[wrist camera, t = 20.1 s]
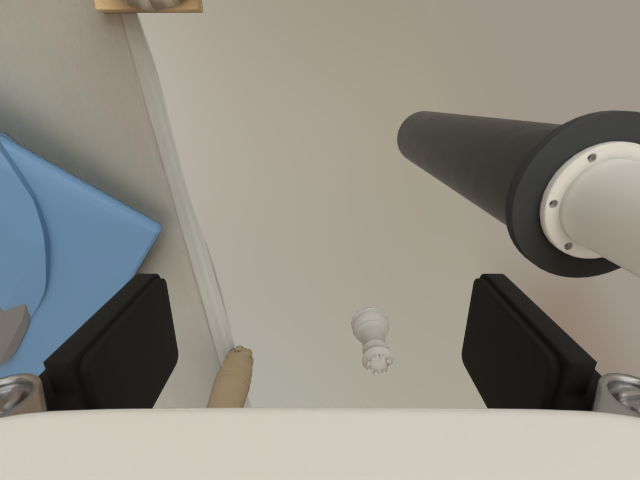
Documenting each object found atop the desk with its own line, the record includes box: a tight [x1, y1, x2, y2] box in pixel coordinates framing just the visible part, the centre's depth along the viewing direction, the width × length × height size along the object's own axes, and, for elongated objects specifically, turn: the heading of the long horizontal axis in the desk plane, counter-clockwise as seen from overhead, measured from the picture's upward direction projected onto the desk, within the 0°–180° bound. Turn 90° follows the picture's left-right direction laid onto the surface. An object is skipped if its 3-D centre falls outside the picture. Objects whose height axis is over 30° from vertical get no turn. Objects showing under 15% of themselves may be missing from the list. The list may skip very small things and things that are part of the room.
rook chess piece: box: [351, 308, 393, 376], centre depth 41 cm, size 4×4×8 cm
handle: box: [207, 346, 253, 408], centre depth 39 cm, size 5×6×15 cm
